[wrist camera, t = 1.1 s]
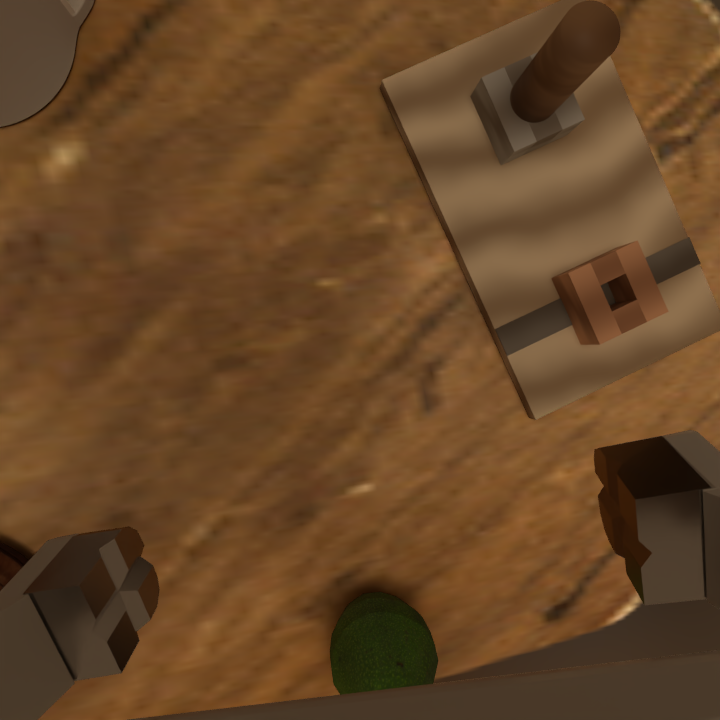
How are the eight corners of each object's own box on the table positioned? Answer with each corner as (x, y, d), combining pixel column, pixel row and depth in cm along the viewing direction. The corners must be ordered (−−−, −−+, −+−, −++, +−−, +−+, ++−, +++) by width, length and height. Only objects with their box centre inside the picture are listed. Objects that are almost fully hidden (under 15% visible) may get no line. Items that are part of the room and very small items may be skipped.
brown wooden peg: (490, 103, 45) (551, 15, 33) (530, 85, 45) (605, -9, 33) (508, 144, 45) (576, 72, 33) (548, 126, 45) (629, 47, 33)
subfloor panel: (379, 88, 46) (386, 59, 41) (574, 2, 47) (601, -36, 42) (529, 417, 47) (551, 425, 43) (714, 327, 48) (756, 325, 44)
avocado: (328, 669, 47) (330, 780, 35) (329, 576, 47) (332, 655, 35) (423, 666, 47) (457, 774, 35) (424, 574, 47) (459, 652, 35)
